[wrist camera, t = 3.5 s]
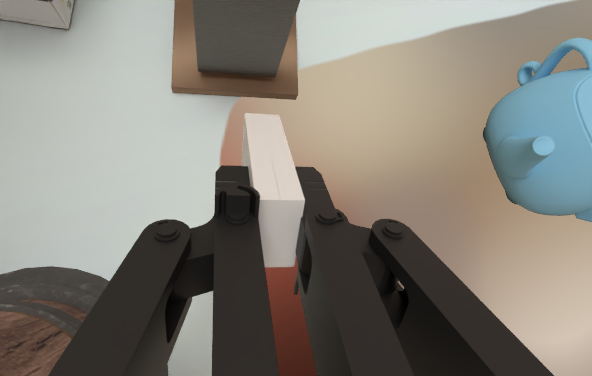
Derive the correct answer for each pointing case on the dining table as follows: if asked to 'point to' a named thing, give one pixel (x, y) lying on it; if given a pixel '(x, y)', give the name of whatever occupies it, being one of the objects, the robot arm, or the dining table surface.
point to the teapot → (546, 136)
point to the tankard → (43, 316)
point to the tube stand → (220, 83)
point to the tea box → (38, 12)
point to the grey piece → (242, 35)
